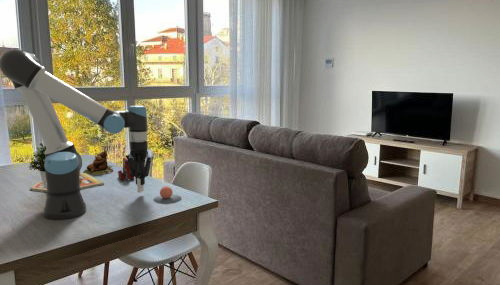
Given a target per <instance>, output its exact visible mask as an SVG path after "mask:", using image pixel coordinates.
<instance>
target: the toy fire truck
mask: <svg viewBox="0 0 500 285" xmlns="http://www.w3.org/2000/svg"><path fill="white" fill-rule="evenodd" d="M117 176H118V178H119V181H121V182H122V181H124V180H132V181H133V180H135V177H134V176H132V175H131V171H130V167H129V163H128V160H127V158H126V157H122V170H118V171H117Z"/></svg>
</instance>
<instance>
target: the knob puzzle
mask: <svg viewBox="0 0 500 285" xmlns="http://www.w3.org/2000/svg"><path fill="white" fill-rule="evenodd" d="M79 181H80V190H84V189H85V190H86V189H89V188H90V189H91V188H95V187H100V186H104V185H105V182H104V181H101V180H100V179H98V178H96V177H95V176H93V175H90V174H87V173H84V172H81V171H80V172H79ZM30 191H33V192H40V193H41V192H42V193H47V188H45V187H44V185H43V183H42V180H40V181H38V182H37V183H34V184H33V185H31V187H30Z"/></svg>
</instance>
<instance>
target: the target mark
mask: <svg viewBox="0 0 500 285" xmlns="http://www.w3.org/2000/svg"><path fill="white" fill-rule="evenodd" d="M181 200H182V196H181V195H178V194H173V193H172V196H171V197H170V198H168V199H164V198H162V197H161V195H160V194H159V195H158V196H156V197H154V198H153V201H154V202H155V203H158V204H175V203H177V202H181Z"/></svg>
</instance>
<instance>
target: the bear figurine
mask: <svg viewBox="0 0 500 285" xmlns="http://www.w3.org/2000/svg"><path fill="white" fill-rule="evenodd" d="M107 157H108V152H107V150H103V151H101V152H98V153H96V155H95V156H94V159H93V162H91V163H89V164H88V165H87V166H86V167H85V169H84V170H83V173H87V174H89V175H91V176H93V175H106V174H109V175H110V174H112V171H113V170H114V168H113V166H111V165H108V160H107Z"/></svg>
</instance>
